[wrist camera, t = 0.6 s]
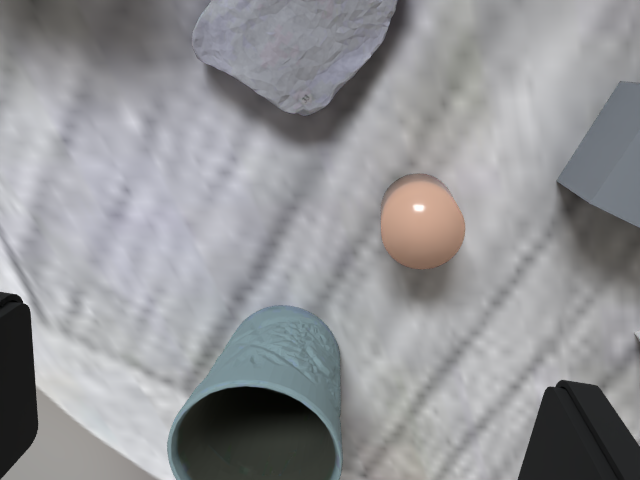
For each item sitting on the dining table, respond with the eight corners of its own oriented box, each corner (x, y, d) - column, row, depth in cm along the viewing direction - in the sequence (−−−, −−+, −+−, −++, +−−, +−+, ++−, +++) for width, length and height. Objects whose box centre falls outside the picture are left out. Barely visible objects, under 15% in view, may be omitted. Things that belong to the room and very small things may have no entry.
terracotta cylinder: (410, 158, 36) (415, 173, 31) (468, 201, 36) (482, 222, 32) (366, 216, 37) (364, 238, 33) (423, 256, 38) (429, 284, 33)
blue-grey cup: (223, 399, 44) (169, 518, 32) (222, 286, 40) (162, 374, 29) (346, 412, 43) (336, 539, 31) (356, 298, 39) (348, 394, 28)
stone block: (416, -33, 34) (279, -135, 31) (434, -35, 30) (278, -153, 27) (318, 125, 38) (190, 48, 35) (321, 144, 34) (176, 58, 31)
